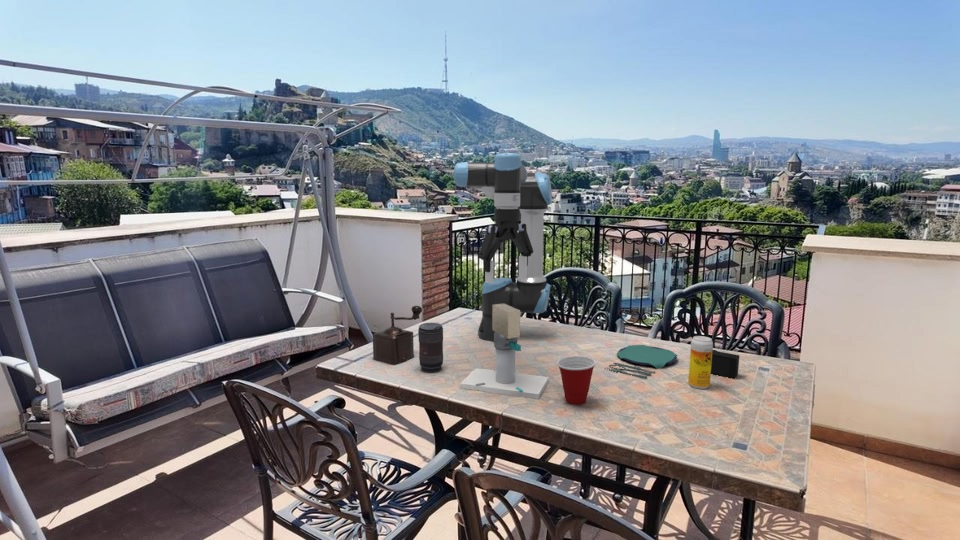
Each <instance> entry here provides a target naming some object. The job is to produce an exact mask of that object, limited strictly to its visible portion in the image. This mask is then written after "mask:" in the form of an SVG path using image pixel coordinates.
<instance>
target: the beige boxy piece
mask: <svg viewBox="0 0 960 540" xmlns="http://www.w3.org/2000/svg"><path fill="white" fill-rule="evenodd" d="M492 330H493V331H495V333H494V341H493V347H494V348H495V349H496V348H497V349H501V350H512V349H514V350H516V352H521V350H522V349H521V348H522V344H519V343H518V338H520V337H521V312H520V310H518V309H516V308H513V307H511V306H509V305H506V304H495V305H493V308H492Z"/></svg>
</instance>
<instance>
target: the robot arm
mask: <svg viewBox="0 0 960 540" xmlns="http://www.w3.org/2000/svg"><path fill="white" fill-rule="evenodd" d="M521 157H522V156H521V155H520V154H519V153H515V152H514V153H513V152H509V153H508V152H507V153H506V152H505V153H502V152H500V153H497V154H496V155H495V156H494V162H493V161H488V162H483V161H482V162H480V161H479V162H475V161H473V162H472V161H471V162H470V161H465V162H457V163H456V164H455V166H454V169H453V180H454V183H455V185H456V186H457V187H461V188H472V189H475V190H477V191H478V192H479V191H480V192H482V193H483V195H484V196H485V197H486V198H488V199H489V200H493V201H494V203H493V205H494V210H493V211H494V212H493V216H494V217H493V220H494V222H495V225H487V226H486V232H485V233H486V234H485V236H484V238H483V240H482V244H481V246H480V250H479V252H478V255H477V258H478V259H480V260H482V261H483V271H484V273H485V274H484V275H485V276H484V277H485V279H484V280H485V281H484V282H483V283H482V291H481V294H482V295H481V297H482V300H481V302H482V303H481V305H482V307H481V308H482V309H481V310H482V313H481V315H482V316H481V320H480V323H479V326H478V329H477V337H478V336H479V337H478V338H480V339H482V340H484V341H490V340H491V342H494V333H495V331H493V330H492V308H493V305H495V304H506V305H509V306H511V307H513V308H516V309H518V310H520V313H526V314H527V313H529V314H544V312H546V310H547V308H548V304H549V299H550V292H551V284H549V283H547V278H546V277H545V276H544V275H543V274H544V271H543V270H544V269H543V268H544V266H543V265H544V259H543V258H544V221H545V220H544V216H545V213H546V212H547V211H548V208H549V206H550V205H552V203H553V192H552V183H551V178H550V177H549V175H548V174H547V173H545V172H544V173H541V172H528V170H527V168H526V167H525V166H524V164H523V163H522V161H521V159H522V158H521ZM504 241H512V243H513V244H514V246H515V247H516V248H517V251H518V252H519V253H520V255H518V276H517V278H516V282H513V280H512V278H511V277H499V278H498V277H497V278H494V274H495V273H494V269H495V268H494V266H495V265H494V264H495V263H494V261H495V260H492V259H493V258H494V256H495V254H496V253H497V251H498V249H499V247H500V246H501V244H502V243H504Z"/></svg>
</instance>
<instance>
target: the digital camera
mask: <svg viewBox="0 0 960 540" xmlns="http://www.w3.org/2000/svg"><path fill="white" fill-rule="evenodd" d="M739 363H740V355H739V354H734V353H729V352H723V351H718V350H716V349H713V351H712V364H711V374H713V375H712V376H716V375H718V376H717V377H721V376H722V378H726V377H728V378H727V379H731V378H732V379H731V380H736V379H737V377H739V366H740V364H739ZM735 378H736V379H735Z"/></svg>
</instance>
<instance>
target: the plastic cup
mask: <svg viewBox="0 0 960 540" xmlns="http://www.w3.org/2000/svg"><path fill="white" fill-rule="evenodd" d="M596 363H597V362H596V360H595V359H594V358H593V357H589V356H585V355H571V356H568V355H567V356H564V357H561V358H559V359H558V360H557V361H556V365H557V366H558V369H559V372H560V375H561V383H562V390H563V395H564V400H565V402H566V403H567V404H569V405H572V406H583V405H585V404H586V402H587V401H588V400H587V399H588V396H589V395H588V393H589V391H590V387H591V386H590V385H591V381H592V376H593V373H594V368H595V366H596Z"/></svg>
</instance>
